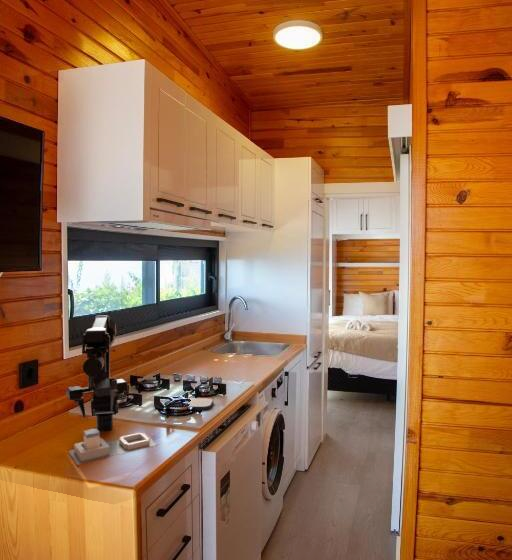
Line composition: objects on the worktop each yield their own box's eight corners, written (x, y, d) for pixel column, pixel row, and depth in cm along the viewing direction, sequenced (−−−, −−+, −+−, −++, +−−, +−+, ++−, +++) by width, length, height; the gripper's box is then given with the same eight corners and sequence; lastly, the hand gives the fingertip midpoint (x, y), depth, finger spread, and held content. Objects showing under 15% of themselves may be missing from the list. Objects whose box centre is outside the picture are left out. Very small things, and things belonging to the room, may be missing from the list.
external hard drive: (153, 410, 202) (153, 406, 202) (160, 402, 213) (160, 397, 213) (210, 411, 200) (209, 406, 200) (214, 402, 211) (214, 398, 211)
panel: (68, 453, 159) (67, 443, 159) (145, 436, 173) (145, 426, 173) (77, 467, 149) (77, 456, 149) (158, 447, 163) (158, 437, 163)
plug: (84, 452, 158) (83, 430, 157) (96, 449, 160) (96, 428, 159) (87, 456, 154) (86, 434, 154) (100, 453, 156) (99, 432, 156)
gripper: (72, 378, 149) (74, 428, 150) (132, 369, 159) (134, 416, 160) (64, 370, 158) (66, 417, 159) (122, 362, 168) (123, 406, 169)
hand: (98, 414), depth 162 cm, fingers open, 9 cm apart
